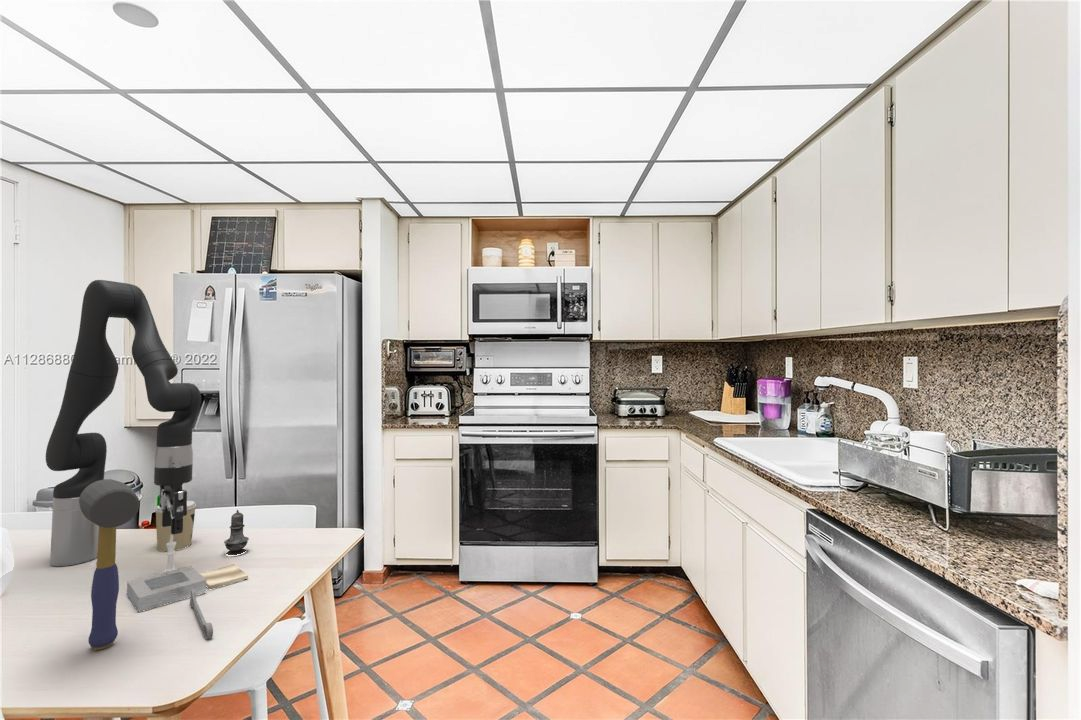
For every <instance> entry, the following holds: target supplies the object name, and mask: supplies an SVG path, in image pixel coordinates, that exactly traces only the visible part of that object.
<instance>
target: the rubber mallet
mask: <svg viewBox="0 0 1081 720" xmlns="http://www.w3.org/2000/svg"><path fill="white" fill-rule="evenodd" d="M79 504H80V508H81V511H82V513H83V514H84V516H85V517H86V518H87V519H88V520H90V521H91V522H93V523H94V524H96V525H98V526H99V532H98V550H97V557H96V568H95V569H94V573H93V575H92V576H93V577H92V582H91V583H92V584H91V591H90V597H91V598H90V599H91V607H92V610H91V611H92V612H91V613H92V615H91V628H90V633H89V636H88V645H89V646H90V647H91V650H94V651H97V650H98V651H99V650H104V649H106V648H109V647H110V646H112V645H113V644H114V642H115V640H116V639H117V638H118V634H119V631H118V627H117V603H118V596H119V592H120V591H119V590H120V576H119V569H118V565H117V563H116V553H117V552H116V549H117V548H116V546H117V527H120V526H122V525H125V524H126V523H128V522H130V521H131V520H132V519H133V518H134V517H135V516H136V514H137V513H138V511H139V509H140V499H139V497H138V495H137V494H136V492H135V491H134V489H132V487H131V486H129V485H127V484H126V483H124V482H122V481H118V480H116V479H111V478H110V479H109V478H108V479H107V478H106V479H105V478H104V479H103V480H99V481H96V482H94V483H92V484H90V485H89V486H87V487H86V488H85V489H84V490H83V492H82V493H81V495H80V498H79Z"/></svg>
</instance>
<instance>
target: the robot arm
mask: <svg viewBox="0 0 1081 720" xmlns="http://www.w3.org/2000/svg"><path fill="white" fill-rule="evenodd" d="M80 314H81V315H80V321H79V327H78V329H79V330H78V336H77V342H76V345H75V348H74V349H75V350H74V352H73V353H74V354H73V358H72V361H71V362H70V367H69V370H68V375H67V379H66V384H65V390H64V394H63V398H62V402H61V406H60V410H59V412H58V415H57V418H56V421H55V423H54V425H53V426H54V427H53V430H52V431H51V434H50V436H49V439H48V442H47V445H46V450H45V464H46V466H47V468H48V469H50V470H51V471H53V472H64V471H71V470H72V471H73V470H78V471H77V473H76V474H74V475H73V476H71V477H70V478H68V479H67V480H65V481H62V482H60V483H57V484H56V485H55V486H54V487H53V490H52V491H53V492H52V518H51V538H50V556H49V564H50V566H53V567H64V566H65V567H66V566H74V565H78V564H83V563H86V562H89V561H92V560H94V559H97V550H98V532H99V526H98V525H96V524H94V523H93V522H91V521H90V520H88V519H87V518H86V517H85V516H84V514H83V513H82V511H81V508H80V504H79V498H80V495H81V493H82V492H83V490H84V489H85V488H86V487H87V486H89V485H90V484H92V483H94V482H96V481H99V480H103V479H105V470H106V461H107V452H108V451H107V448H108V447H107V442H106V441H107V440H106V439H105V437H104V436H103V434H101V433H100V432H87V433H86V432H85V433H79V431H80V430H81V427H82V425H83V423H84V421H85V420H86V419H87V418H88V417H89V416H90V415H91V414H92V413H93V412H94V411H95V410H97V408H99V407H100V406H101V405H102V404H103V403H104V402H105V401H106V400H108V398H109V397H110V396H111V394H112V393H113V391H114V390H115V389H114V388H115V385H116V382H117V377H118V374H119V368H120V367H119V363H118V360H117V358H116V356H115V354H114V352H113V351H112V347H111V346H110V344H109V342H108V339H107V325H108V321H109V318H113V319H114V318H115V319H116V318H117V319H126V320H128V322H129V323H130V324H131V325H132V327H133V329H134V337H133V341H132V345H131V355H132V359H133V361H134V363H135V364H136V366H137V368H138V369H139V372H140V373H141V375H142V377H143V378H144V379H143V380H144V387H145V389H146V390H145V391H146V396H147V401H148V403H149V405H150V406H151V407H152V408H153V409H155V411H158V412H161V413H172V412H173V414H172V417H171V418H170V419H169V420H166V421H162V422H161V423H159V424H158V426H157V429H156V446H155V453H154V454H155V455H154V471H153V472H154V473H153V474H154V475H153V480H154V481H153V483H154V485H156V486H159V504H158V506H160V508H161V511H162V526H163V527H167V526H171V534H179V533H182V531H183V517H184V516H186V515H187V501H188V491H187V490H186V489H183V484H188V483H190V482H191V481H192V480H193V461H194V460H193V459H194V458H193V457H194V455H193V452H194V451H193V428H194V427H193V426H194V424H195V421H196V419H197V415H198V412H199V410H200V407H201V403H202V394H201V391H200V389H199V387H198V386H197V385H196V384H194V383H190V382H173V383H172V382H170V381H171V380H173V379H174V378H175V377H176V376H177V375H178V373H179V372H178V371H179V370H178V365H176V362H175V361H174V360H173V358H172V356H171V354H170V352H169V351H168V350H167V348H166V346H165V344H164V342H163V340H162V339H161V336H160V333H159V330H158V328H157V324H156V321H155V319H154V316H153V313H152V310H151V308H150V305H149V302H148V299H147V297H146V295H145V293H144V292H143V290H142V289H141V288H140V287H139V286H137V285H135V284H132V283H129V282H120V281H115V280H114V281H112V280H105V279H95V280H92V281H91V282H90V283H88V285H87V286H86V289H85V291H84V293H83V299H82V305H81V313H80ZM177 509H180V512H177Z"/></svg>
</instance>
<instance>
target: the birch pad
mask: <svg viewBox="0 0 1081 720" xmlns="http://www.w3.org/2000/svg"><path fill="white" fill-rule="evenodd" d="M199 573H200V574H201V575H202V576H203V577H204V578H205V579H206V586H207V587H208V588H209V589H213V588H216V589H218V588H217V587H220V586H223V585H227V584H230V585H232V584H231V583H234V582H237V581H241V580H244V579H248V580H249V575H248V574H247V573H246V572H245V571H244V570H242V569H241V568H240V567H238V566H237V565H236V564H234V563H233V564H229V565H226V566H221V567H217V568H215V569H211V570H207V571H203V572H199ZM244 581H245V580H244ZM241 582H242V581H241ZM237 583H238V582H237ZM234 584H235V583H234ZM227 586H228V585H227ZM207 587H206V588H207ZM223 587H224V586H223ZM208 588H207V589H208ZM220 588H221V587H220ZM209 589H208V590H209ZM213 590H214V589H213Z"/></svg>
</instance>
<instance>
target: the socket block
mask: <svg viewBox="0 0 1081 720" xmlns="http://www.w3.org/2000/svg"><path fill="white" fill-rule="evenodd" d="M162 572H163V573H161V572H160V573H155V574H152V575H151V574H150V575H147V576H146V575H145V576H143V577H139V578H135V579H130V580H126V596H127V595H128V596H127V597H128V599H129V598H130V599H129V600H130V602H131V601H132V602H131V603H132V605H133V604H134V605H133V606H134V608H135V607H136V608H135V609H136V611H137V610H138V611H142V612H144V611H143V610H145V611H148V610H147V609H149V610H151V609H150V608H152V609H155V608H154V607H156V608H158V607H157V606H159V607H161V606H160V605H163V606H165V605H164V604H166V605H168V604H167V603H170V602H173V603H175V602H174V601H177V600H180V601H182V600H181V599H184V598H187V599H189V598H188V597H191V589H195V591H196V595H198V594H201V593H205V592H206V593H207V587H206V579H205V578H204V577H203V576H202V575H201V574H200V573H201V572H199V571H198V570H196V568H194V567H193V565H188V566H184V567H180V568H176V569H175V570H171V571H167V572H164V571H162ZM206 593H205V594H206ZM201 595H202V594H201ZM198 596H199V595H198ZM184 600H185V599H184ZM177 602H178V601H177ZM170 604H171V603H170ZM138 611H137V612H138Z"/></svg>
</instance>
